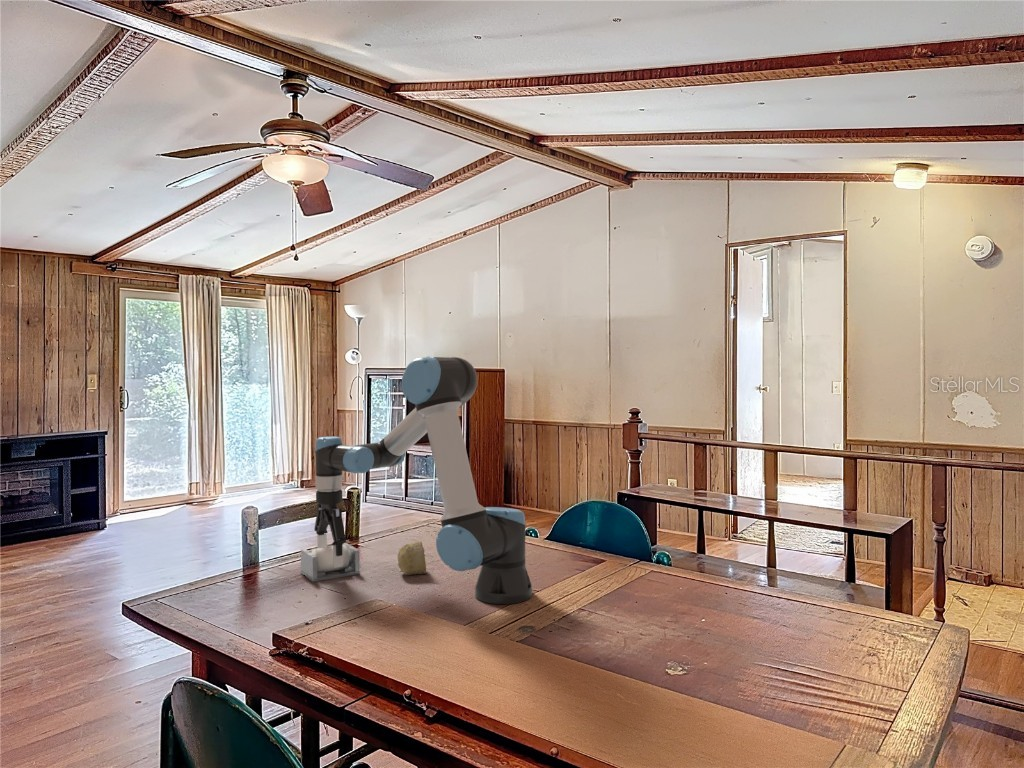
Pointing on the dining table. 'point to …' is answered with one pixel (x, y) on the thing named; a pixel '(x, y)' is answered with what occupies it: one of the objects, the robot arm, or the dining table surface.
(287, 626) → the dining table surface
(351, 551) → the cradle
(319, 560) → the roll
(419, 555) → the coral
